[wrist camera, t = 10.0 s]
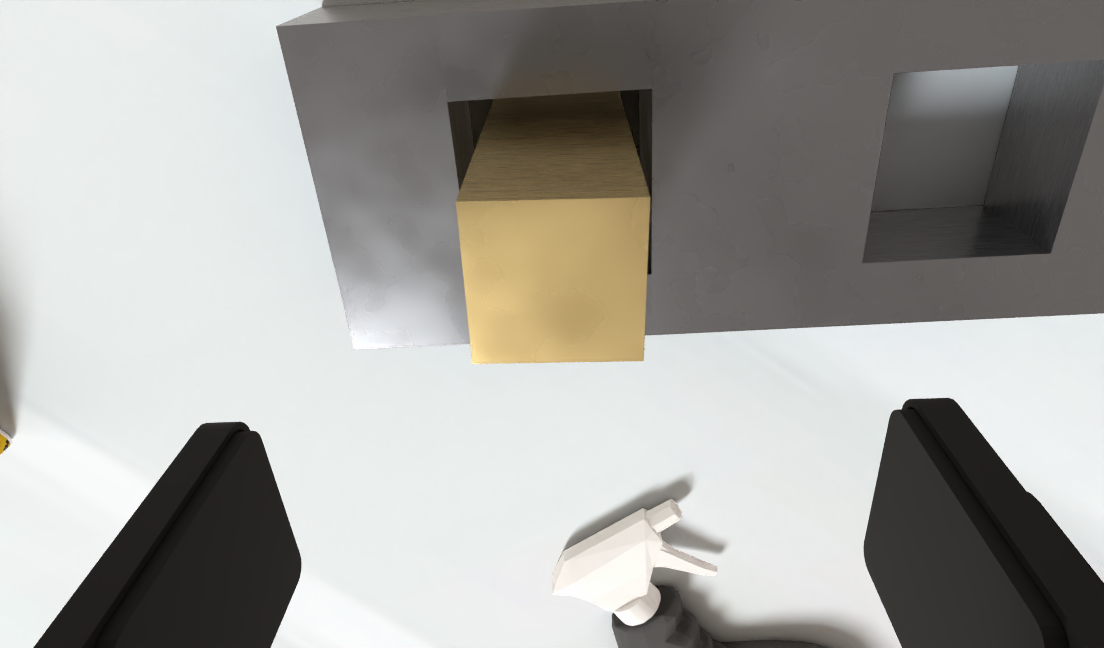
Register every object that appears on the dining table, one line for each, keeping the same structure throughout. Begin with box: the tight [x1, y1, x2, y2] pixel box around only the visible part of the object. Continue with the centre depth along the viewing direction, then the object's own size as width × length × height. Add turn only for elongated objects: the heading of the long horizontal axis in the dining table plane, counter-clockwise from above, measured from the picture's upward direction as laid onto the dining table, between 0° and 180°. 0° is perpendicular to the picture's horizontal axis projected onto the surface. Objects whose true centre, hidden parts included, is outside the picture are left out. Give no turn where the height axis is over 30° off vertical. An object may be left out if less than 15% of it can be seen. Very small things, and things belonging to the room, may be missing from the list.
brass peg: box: [456, 91, 650, 364], centre depth 20 cm, size 4×4×10 cm
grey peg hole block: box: [276, 0, 1104, 349], centre depth 22 cm, size 26×10×4 cm, turn 94°
